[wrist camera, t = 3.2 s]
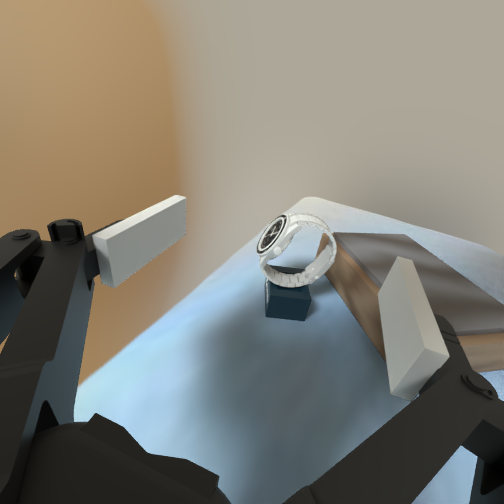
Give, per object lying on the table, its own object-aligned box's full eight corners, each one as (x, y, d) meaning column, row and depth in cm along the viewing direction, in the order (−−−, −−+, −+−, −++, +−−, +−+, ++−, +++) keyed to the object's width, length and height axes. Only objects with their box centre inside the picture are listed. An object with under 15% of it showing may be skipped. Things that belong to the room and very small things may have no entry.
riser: (514, 368, 27) (551, 333, 24) (399, 382, 24) (427, 344, 21) (392, 259, 43) (406, 231, 41) (314, 259, 40) (324, 228, 37)
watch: (249, 283, 33) (262, 201, 27) (311, 290, 34) (337, 211, 28) (247, 315, 28) (263, 224, 23) (320, 323, 29) (353, 236, 23)
